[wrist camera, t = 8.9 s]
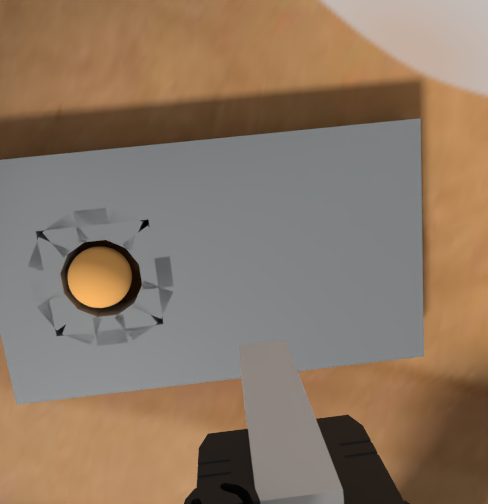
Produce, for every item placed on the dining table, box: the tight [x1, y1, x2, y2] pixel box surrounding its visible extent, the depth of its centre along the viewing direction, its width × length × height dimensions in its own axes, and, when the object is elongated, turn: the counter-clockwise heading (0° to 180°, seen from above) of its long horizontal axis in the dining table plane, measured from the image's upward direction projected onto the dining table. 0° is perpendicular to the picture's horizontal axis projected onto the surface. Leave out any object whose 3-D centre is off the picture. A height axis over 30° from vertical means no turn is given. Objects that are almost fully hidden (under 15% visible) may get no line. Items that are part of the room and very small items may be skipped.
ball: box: [68, 246, 132, 308], centre depth 30 cm, size 4×4×4 cm
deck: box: [0, 118, 424, 405], centre depth 31 cm, size 28×16×2 cm, turn 96°
